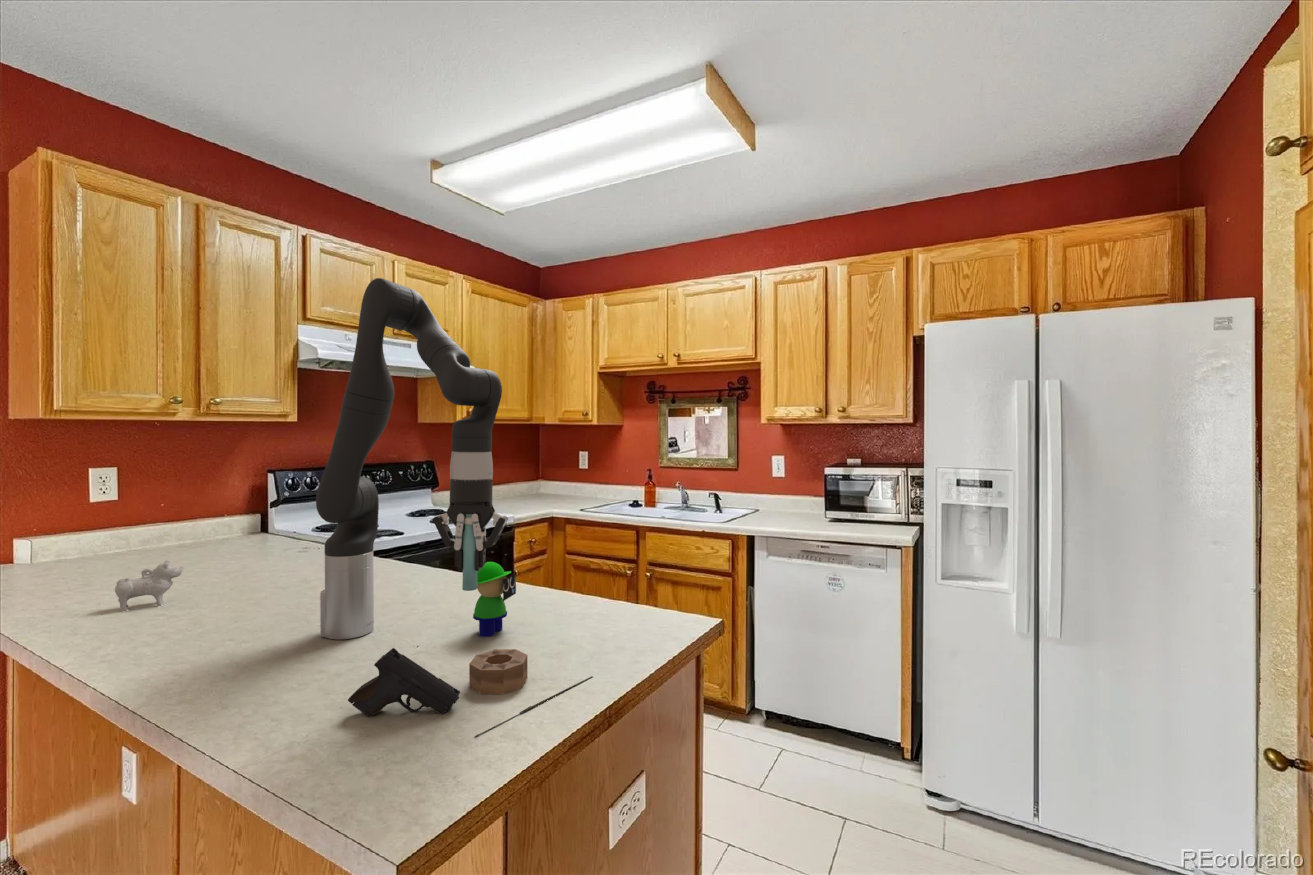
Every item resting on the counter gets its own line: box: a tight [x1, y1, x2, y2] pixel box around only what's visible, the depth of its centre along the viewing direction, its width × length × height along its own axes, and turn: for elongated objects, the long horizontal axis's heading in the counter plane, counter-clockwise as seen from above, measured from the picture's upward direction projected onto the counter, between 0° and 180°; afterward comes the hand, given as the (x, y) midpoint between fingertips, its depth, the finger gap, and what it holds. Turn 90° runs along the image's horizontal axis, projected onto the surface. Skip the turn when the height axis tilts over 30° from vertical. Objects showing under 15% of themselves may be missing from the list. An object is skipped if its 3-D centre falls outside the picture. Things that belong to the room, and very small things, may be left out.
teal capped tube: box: [461, 514, 478, 592], centre depth 107 cm, size 3×3×14 cm
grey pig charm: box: [114, 559, 185, 613], centre depth 142 cm, size 5×13×11 cm, turn 131°
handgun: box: [347, 647, 461, 718], centre depth 89 cm, size 3×14×10 cm
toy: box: [472, 561, 517, 638], centre depth 124 cm, size 9×9×15 cm
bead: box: [468, 648, 528, 695], centre depth 99 cm, size 9×9×4 cm
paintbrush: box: [473, 675, 594, 738], centre depth 91 cm, size 1×25×1 cm, turn 144°
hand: (470, 569), depth 107 cm, fingers closed on teal capped tube, 2 cm apart
